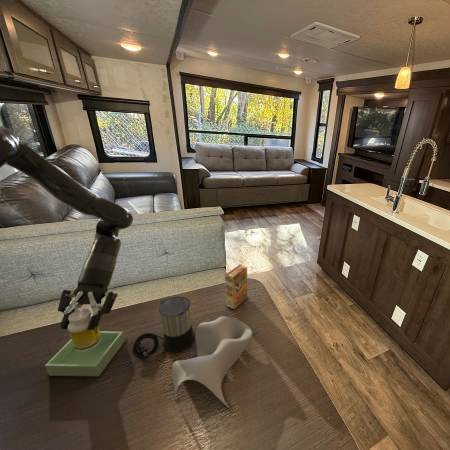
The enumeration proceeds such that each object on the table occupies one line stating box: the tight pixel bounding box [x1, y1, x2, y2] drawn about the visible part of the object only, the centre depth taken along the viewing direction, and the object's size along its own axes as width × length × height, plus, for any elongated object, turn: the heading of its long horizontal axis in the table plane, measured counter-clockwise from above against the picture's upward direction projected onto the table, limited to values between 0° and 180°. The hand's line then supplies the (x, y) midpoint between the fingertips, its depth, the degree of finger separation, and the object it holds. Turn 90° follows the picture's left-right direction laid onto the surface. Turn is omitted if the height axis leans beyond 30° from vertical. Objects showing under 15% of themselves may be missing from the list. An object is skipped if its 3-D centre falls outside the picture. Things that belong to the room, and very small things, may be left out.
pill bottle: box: [67, 308, 102, 352], centre depth 71 cm, size 6×6×11 cm
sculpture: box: [171, 315, 254, 408], centre depth 75 cm, size 25×19×10 cm
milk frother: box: [132, 295, 195, 359], centre depth 78 cm, size 14×16×15 cm
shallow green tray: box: [44, 330, 126, 377], centre depth 74 cm, size 13×12×4 cm
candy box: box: [224, 264, 248, 310], centre depth 99 cm, size 9×4×15 cm, turn 154°
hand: (78, 329), depth 68 cm, fingers closed on pill bottle, 6 cm apart
